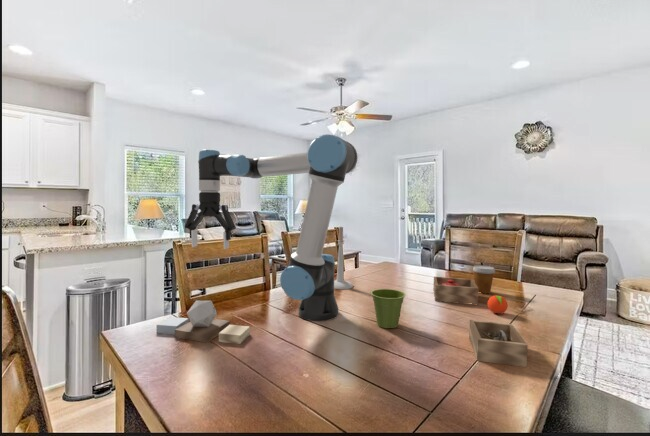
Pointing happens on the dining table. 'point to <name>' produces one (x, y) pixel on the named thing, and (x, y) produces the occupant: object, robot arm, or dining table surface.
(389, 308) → the plant pot
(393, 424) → the dining table surface
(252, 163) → the robot arm
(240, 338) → the oak block
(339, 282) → the candlestick
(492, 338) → the eagle figurine
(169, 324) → the grey block
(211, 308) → the die
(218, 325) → the walnut block
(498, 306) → the clementine
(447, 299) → the wooden box
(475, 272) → the disposable coffee cup
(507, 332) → the tray
